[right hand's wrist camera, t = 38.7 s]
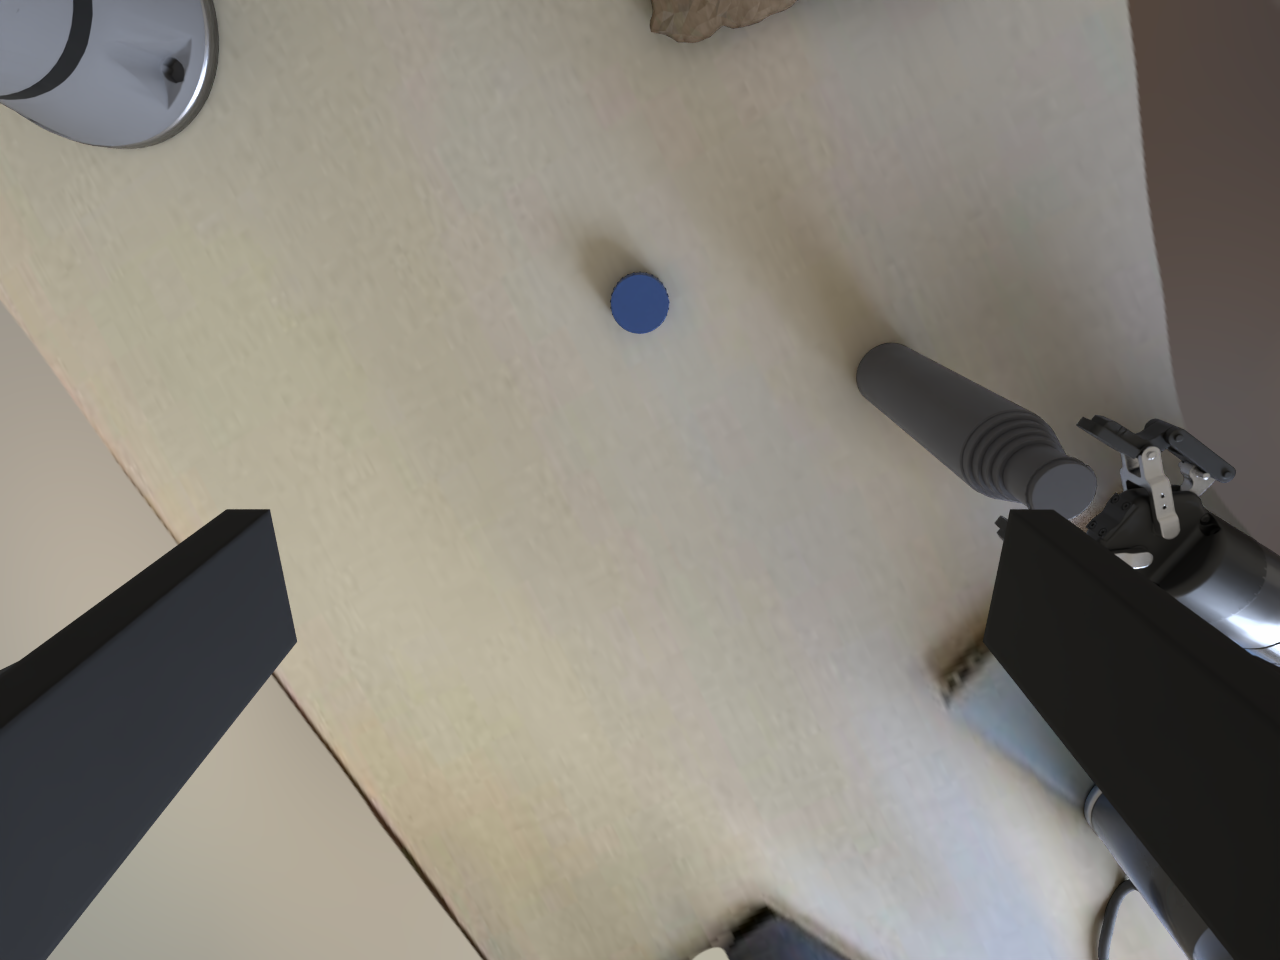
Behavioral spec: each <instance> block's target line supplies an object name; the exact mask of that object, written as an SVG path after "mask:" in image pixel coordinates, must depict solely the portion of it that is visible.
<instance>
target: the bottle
mask: <svg viewBox="0 0 1280 960" xmlns="http://www.w3.org/2000/svg"><path fill="white" fill-rule="evenodd" d="M856 379H857V385H858V388H859V390H860V392H861V394H862V395H863V396H864V397H865V398H866V399H867V400H869V401H870V402H871V403H872V404H873V405H874V406H876V407H877V408H878V409H879V410H880V411H882V412H883V413H884V414H885V415H886V416H888V417H889V418H890V419H891V420H892V421H893V422H895V423H896V424H897V425H898V426H899V427H901V428H902V429H903V430H904V431H905V432H906V433H908V434H909V435H910V436H911V437H912V438H914V439H915V440H916V441H917V442H918V443H919V444H921V445H922V446H923V447H924V448H925V449H927V450H928V451H929V452H930V453H931V454H932V455H934V456H935V457H936V458H937V459H938V460H940V461H941V462H942V463H943V464H944V465H946V466H947V467H948V468H949V469H950V470H951V471H953V472H954V473H955V474H956V475H957V476H959V477H960V478H961V479H962V480H963V481H964V482H966V483H967V484H968V485H969V486H970V487H972V488H973V489H974V490H976V491H977V492H979V493H982V494H984V495H986V496H988V497H991V498H994V499H1000V500H1005V501H1012V502H1017V503H1023V504H1024V505H1026V506H1027V507H1028V509H1053V510H1055V511H1056V512H1058V513H1059V514H1060V515H1062V516H1063V517H1064V518H1066V519H1067V520H1069V519H1072V518H1074V517H1076V516H1078V515H1079V514H1081V513H1082V512H1083V511H1084V510H1085V509H1086V508H1087V507H1088V506H1089V505H1090V503H1091V502H1092V500H1093V498H1094V496H1095V493H1096V487H1097V481H1096V476H1095V474H1094V471H1093V470H1092V469H1091V468H1090V467H1089V466H1088V465H1085V464H1084V463H1083V462H1081V461H1080V460H1078V459H1076V458H1072V457H1069V456H1067V455H1066V453H1065V452H1064V450H1063V449H1062V446H1061V444H1060V443H1059V440H1058V439H1057V437H1056V435H1055V433H1054V431H1053V430H1052V429H1051V427H1050V426H1049V425H1048V424H1047V423H1046V422H1045V421H1044V420H1043V419H1041V418H1040V417H1039V416H1037V415H1036V414H1034V413H1032V412H1030V411H1028V410H1026V409H1025V408H1023V407H1021V406H1019V405H1017V404H1015V403H1013V402H1011V401H1009V400H1007V399H1005V398H1003V397H1002V396H1000V395H998V394H996V393H994V392H992V391H990V390H988V389H986V388H984V387H982V386H981V385H979V384H977V383H975V382H973V381H971V380H969V379H967V378H965V377H963V376H961V375H960V374H958V373H956V372H954V371H952V370H950V369H948V368H946V367H944V366H942V365H940V364H938V363H937V362H935V361H933V360H931V359H929V358H927V357H925V356H923V355H921V354H919V353H917V352H916V351H914V350H912V349H910V348H908V347H906V346H904V345H901V344H897V343H886V344H882V345H879V346H877V347H875V348H873V349H872V350H870V351H869V352H868V353H867V354H866V355H865V356H864V358H863V359H862V360H861V362H860V364H859V367H858V370H857V376H856Z"/></svg>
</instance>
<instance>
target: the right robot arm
mask: <svg viewBox="0 0 1280 960" xmlns="http://www.w3.org/2000/svg"><path fill="white" fill-rule="evenodd" d="M218 52H219V36H218V25H217V19H216V13H215V8H214V4H213V0H0V103H1V104H3V105H5V106H7V107H8V108H10V109H12V110H14V111H16V112H17V113H19V114H20V115H22V116H23V117H25V118H26V119H28V120H30V121H31V122H33V123H35V124H36V125H38V126H40V127H42V128H44V129H46V130H48V131H50V132H52V133H54V134H57V135H59V136H62V137H65V138H68V139H70V140H73V141H76V142H80V143H83V144H88V145H93V146H100V147H109V148H118V149H134V148H143V147H147V146H152V145H155V144H158V143H161V142H163V141H165V140H167V139H169V138H171V137H173V136H175V135H176V134H178V133H179V132H180V131H182V130H183V129H184V128H185V127H186V126H188V125H189V124H190V123H191V121H192V120H193V119H194V118H195V117H196V116H197V114H198V113H199V111H200V110H201V109H202V107H203V105H204V103H205V102H206V100H207V98H208V96H209V93H210V91H211V88H212V85H213V82H214V78H215V75H216V69H217V63H218ZM296 642H297V639H296V634H295V629H294V624H293V619H292V614H291V610H290V605H289V600H288V595H287V590H286V585H285V581H284V576H283V571H282V566H281V561H280V556H279V552H278V547H277V542H276V537H275V532H274V527H273V523H272V518H271V513H270V509H227V510H225V511H224V512H222V513H221V514H220V515H218V516H217V517H216V518H214V519H213V520H211V521H210V522H209V523H207V524H206V525H205V526H203V527H202V528H201V529H199V530H198V531H196V532H195V533H194V534H192V535H191V536H190V537H188V538H187V539H185V540H184V541H183V542H181V543H180V544H179V545H177V546H176V547H175V548H173V549H172V550H171V551H169V552H168V553H166V554H165V555H164V556H162V557H161V558H159V559H158V560H157V561H155V562H154V563H153V564H151V565H150V566H149V567H147V568H146V569H144V570H143V571H142V572H140V573H139V574H138V575H136V576H135V577H134V578H132V579H131V580H129V581H128V582H127V583H125V584H124V585H123V586H121V587H120V588H118V589H117V590H116V591H114V592H113V593H112V594H110V595H109V596H107V597H106V598H105V599H103V600H102V601H101V602H99V603H98V604H97V605H95V606H94V607H93V608H91V609H90V610H88V611H87V612H86V613H84V614H83V615H81V616H80V617H79V618H77V619H76V620H75V621H73V622H72V623H71V624H69V625H68V626H66V627H65V628H64V629H62V630H61V631H60V632H58V633H57V634H55V635H54V636H53V637H51V638H50V639H49V640H47V641H46V642H44V643H43V644H42V645H40V646H39V647H38V648H36V649H35V650H34V651H32V652H31V653H29V654H28V655H27V656H25V657H24V658H23V659H21V660H20V661H18V662H16V663H14V664H12V665H10V666H8V667H6V668H4V669H2V670H0V960H46V959H47V958H48V956H49V955H50V954H51V953H52V951H53V950H54V949H55V948H56V946H57V945H58V944H59V942H60V941H61V940H62V939H63V937H64V936H65V935H66V934H67V932H68V931H69V930H70V929H71V927H72V926H73V925H74V923H75V922H76V921H77V920H78V918H79V917H80V916H81V915H82V913H83V912H84V911H85V910H86V908H87V907H88V906H89V904H90V903H91V902H92V901H93V899H94V898H95V897H96V896H97V894H98V893H99V892H100V891H101V889H102V888H103V887H104V885H105V884H106V883H107V882H108V880H109V879H110V878H111V877H112V875H113V874H114V873H115V872H116V870H117V869H118V868H119V867H120V865H121V864H122V863H123V861H124V860H125V859H126V858H127V856H128V855H129V854H130V853H131V851H132V850H133V849H134V848H135V846H136V845H137V844H138V842H139V841H140V840H141V839H142V837H143V836H144V835H145V834H146V832H147V831H148V830H149V828H150V827H151V826H152V825H153V824H154V822H155V821H156V820H157V818H158V817H159V816H160V815H161V813H162V812H163V811H164V810H165V808H166V807H167V806H168V805H169V803H170V802H171V801H172V799H173V798H174V797H175V796H176V794H177V793H178V792H179V791H180V789H181V788H182V787H183V786H184V784H185V783H186V782H187V780H188V779H189V778H190V777H191V775H192V774H193V773H194V772H195V770H196V769H197V768H198V767H199V765H200V764H201V763H202V761H203V760H204V759H205V758H206V756H207V755H208V754H209V753H210V751H211V750H212V749H213V748H214V746H215V745H216V744H217V742H218V741H219V740H220V739H221V737H222V736H223V735H224V734H225V732H226V731H227V730H228V728H229V727H230V726H231V725H232V723H233V722H234V721H235V720H236V718H237V717H238V716H239V715H240V713H241V712H242V711H243V709H244V708H245V707H246V706H247V704H248V703H249V702H250V701H251V699H252V698H253V697H254V696H255V694H256V693H257V692H258V691H259V689H260V688H261V687H262V685H263V684H264V683H265V682H266V680H267V679H268V678H269V677H270V675H271V674H272V673H273V672H274V670H275V669H276V668H277V666H278V665H279V664H280V663H281V661H282V660H283V659H284V658H285V656H286V655H287V654H288V653H289V651H290V650H291V649H292V647H293V646H294V645H295V644H296ZM983 642H984V644H985V645H986V646H987V647H988V649H989V650H990V651H991V653H992V654H993V655H994V656H995V658H996V659H997V660H998V661H999V663H1000V664H1001V665H1002V666H1003V668H1004V669H1005V670H1006V672H1007V673H1008V674H1009V675H1010V677H1011V678H1012V679H1013V680H1014V682H1015V683H1016V684H1017V685H1018V687H1019V688H1020V689H1021V691H1022V692H1023V693H1024V694H1025V696H1026V697H1027V698H1028V699H1029V701H1030V702H1031V703H1032V704H1033V706H1034V707H1035V708H1036V710H1037V711H1038V712H1039V713H1040V715H1041V716H1042V717H1043V718H1044V720H1045V721H1046V722H1047V723H1048V725H1049V726H1050V727H1051V729H1052V730H1053V731H1054V732H1055V734H1056V735H1057V736H1058V737H1059V739H1060V740H1061V741H1062V742H1063V744H1064V745H1065V746H1066V748H1067V749H1068V750H1069V751H1070V753H1071V754H1072V755H1073V756H1074V758H1075V759H1076V760H1077V761H1078V763H1079V764H1080V765H1081V767H1082V768H1083V769H1084V770H1085V772H1086V773H1087V774H1088V775H1089V777H1090V778H1091V779H1092V780H1093V782H1094V783H1095V784H1096V786H1097V787H1098V788H1099V789H1100V791H1101V792H1102V793H1103V794H1104V796H1105V797H1106V798H1107V799H1108V801H1109V802H1110V803H1111V805H1112V806H1113V807H1114V808H1115V810H1116V811H1117V812H1118V813H1119V815H1120V816H1121V817H1122V818H1123V820H1124V821H1125V822H1126V824H1127V825H1128V826H1129V827H1130V829H1131V830H1132V831H1133V832H1134V834H1135V835H1136V836H1137V837H1138V839H1139V840H1140V841H1141V843H1142V844H1143V845H1144V846H1145V848H1146V849H1147V850H1148V851H1149V853H1150V854H1151V855H1152V856H1153V858H1154V859H1155V860H1156V861H1157V863H1158V864H1159V865H1160V867H1161V868H1162V869H1163V870H1164V872H1165V873H1166V874H1167V875H1168V877H1169V878H1170V879H1171V880H1172V882H1173V883H1174V884H1175V886H1176V887H1177V888H1178V889H1179V891H1180V892H1181V893H1182V894H1183V896H1184V897H1185V898H1186V899H1187V901H1188V902H1189V903H1190V905H1191V906H1192V907H1193V908H1194V910H1195V911H1196V912H1197V913H1198V915H1199V916H1200V917H1201V918H1202V920H1203V921H1204V922H1205V924H1206V925H1207V926H1208V927H1209V929H1210V930H1211V931H1212V932H1213V934H1214V935H1215V936H1216V937H1217V939H1218V940H1219V941H1220V943H1221V944H1222V945H1223V946H1224V948H1225V949H1226V950H1227V951H1228V953H1229V954H1230V955H1231V956H1232V958H1233V959H1234V960H1280V667H1278V666H1276V665H1274V664H1272V663H1270V662H1268V661H1266V660H1264V659H1262V658H1260V657H1258V656H1256V655H1252V654H1251V653H1249V652H1248V651H1246V650H1245V649H1244V648H1242V647H1241V646H1240V645H1238V644H1237V643H1236V642H1234V641H1233V640H1231V639H1230V638H1229V637H1227V636H1226V635H1225V634H1223V633H1222V632H1220V631H1219V630H1218V629H1216V628H1215V627H1214V626H1212V625H1211V624H1210V623H1208V622H1207V621H1205V620H1204V619H1203V618H1201V617H1200V616H1199V615H1197V614H1196V613H1194V612H1193V611H1192V610H1190V609H1189V608H1188V607H1186V606H1185V605H1183V604H1182V603H1181V602H1179V601H1178V600H1177V599H1175V598H1174V597H1173V596H1171V595H1170V594H1168V593H1167V592H1166V591H1164V590H1163V589H1162V588H1160V587H1159V586H1157V585H1156V584H1155V583H1153V582H1152V581H1151V580H1149V579H1148V578H1147V577H1145V576H1144V575H1142V574H1141V573H1140V572H1138V571H1137V570H1136V569H1134V568H1133V567H1131V566H1130V565H1129V564H1127V563H1126V562H1125V561H1123V560H1122V559H1121V558H1119V557H1118V556H1116V555H1115V554H1114V553H1112V552H1111V551H1110V550H1108V549H1107V548H1105V547H1104V546H1103V545H1101V544H1100V543H1099V542H1097V541H1096V540H1095V539H1093V538H1092V537H1090V536H1089V535H1088V534H1086V533H1085V532H1084V531H1082V530H1081V529H1079V528H1078V527H1077V526H1075V525H1074V524H1073V523H1071V522H1070V521H1069V520H1067V519H1066V518H1064V517H1063V516H1062V515H1060V514H1059V513H1058V512H1056V511H1055V510H1053V509H1010V513H1009V518H1008V523H1007V527H1006V532H1005V537H1004V542H1003V547H1002V552H1001V556H1000V561H999V566H998V571H997V576H996V581H995V585H994V590H993V595H992V600H991V605H990V610H989V614H988V619H987V624H986V629H985V634H984V639H983Z"/></svg>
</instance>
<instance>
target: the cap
mask: <svg viewBox="0 0 1280 960" xmlns="http://www.w3.org/2000/svg"><path fill="white" fill-rule="evenodd" d="M613 290H614V291H613V293H612V294H611V296H612V298H611V300H610V302H611V310H612V315H613V316H614V318H615V321H616V322H617V323H618V324H619V325H620V326H621V327H622V328H624V329H625V330H627V331H629V332H632V333H638V334H642V333H648V332H651V331H653V330H655V329H656V328H657V327H658V326H660V325H661V323H662V322H663V321H664V319H665V317H666V316H667V312H668V310H669V307H668V306H669V300H668V297H669V296H668V294H667V293H666V288H664V286H663V283H662V282H660V281H659V280H658V278H656V277H654V276H653V275H650V274H647V272H646V273H641V272H639V273H635V272H633V273H632V274H627V276H625V277H624V278H623V277H622V279H621V280H620V281H619V282H617V285H616V287H614V289H613Z"/></svg>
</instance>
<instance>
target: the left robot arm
mask: <svg viewBox="0 0 1280 960" xmlns="http://www.w3.org/2000/svg"><path fill="white" fill-rule="evenodd" d="M1076 426H1078V427H1079V428H1081V429H1083V430H1084V431H1086V432H1087V433H1089V434H1091V435H1092V436H1094V437H1095V438H1097V439H1099V440H1100V441H1102V442H1103V443H1105V444H1107V445H1108V446H1110V447H1111V448H1113V449H1115V450H1117V451H1119V452H1120V454H1121V459H1122V464H1123V468H1121V469H1120V475H1121V480H1122V485H1123V491H1124V492H1122V493H1120V494H1117V493H1115V494H1114V495H1113V496H1112V497H1111V499H1110V500H1109V501H1108V502H1107V504H1106V506H1105V508H1104V510H1103V511H1102V512H1101V513H1100V514H1098V515H1097V516H1096V517H1094V518H1093V519H1092V520H1091V521H1090V522H1089V524H1088V525H1087V526H1086V528H1088V531H1087V533H1086V534H1088V535H1089V536H1090V537H1092V538H1093V539H1095V540H1096V541H1097V542H1099V543H1100V544H1101V545H1103V546H1104V547H1105V548H1107V549H1108V550H1110V551H1111V552H1112V553H1114V554H1115V555H1116V556H1118V557H1119V558H1121V559H1122V560H1123V561H1125V562H1126V563H1127V564H1129V565H1130V566H1131V567H1133V568H1134V569H1136V570H1137V571H1138V572H1140V573H1141V574H1142V575H1144V576H1145V577H1147V578H1148V579H1149V580H1151V581H1152V582H1153V583H1155V584H1156V585H1157V586H1159V587H1160V588H1162V589H1163V590H1164V591H1166V592H1167V593H1168V594H1170V595H1171V596H1173V597H1174V598H1175V599H1177V600H1178V601H1179V602H1181V603H1182V604H1183V605H1185V606H1186V607H1188V608H1189V609H1190V610H1192V611H1193V612H1194V613H1196V614H1197V615H1199V616H1200V617H1201V618H1203V619H1204V620H1205V621H1207V622H1208V623H1210V624H1211V625H1212V626H1214V627H1215V628H1216V629H1218V630H1219V631H1220V632H1222V633H1223V634H1225V635H1226V636H1227V637H1229V638H1230V639H1231V640H1233V641H1234V642H1236V643H1237V644H1238V645H1240V646H1241V647H1242V648H1244V649H1245V650H1246V651H1248V652H1249V653H1251V654H1252V655H1256V656H1258V657H1260V658H1262V659H1264V660H1266V661H1268V662H1270V663H1272V664H1274V665H1276V666H1278V667H1280V556H1279V555H1277V554H1276V553H1274V552H1273V551H1271V550H1270V549H1268V548H1267V547H1265V546H1263V545H1262V544H1260V543H1259V542H1257V541H1256V540H1255V539H1253V538H1252V537H1250V536H1247V535H1246V534H1244V533H1243V532H1241V531H1239V530H1238V529H1236V528H1235V527H1233V526H1232V525H1230V524H1228V523H1227V522H1225V521H1224V520H1222V519H1220V518H1219V517H1217V516H1216V515H1214V514H1213V513H1211V512H1209V511H1208V510H1206V509H1205V508H1204V507H1203V505H1202V503H1201V500H1200V498H1199V496H1200V495H1201V494H1202V493H1203V492H1205V491H1206V490H1207V489H1208V488H1209V487H1210V486H1211V485H1212V484H1213V483H1214V482H1215V481H1216V480H1217V481H1219V482H1222V483H1226V482H1229V481H1230V480H1232V479H1233V478H1234V476H1235V474H1236V470H1235V468H1234V467H1232V466H1231V465H1230V464H1228V463H1227V462H1226V461H1224V460H1223V459H1222V458H1221V457H1219V456H1218V455H1217V454H1215V453H1214V452H1213V451H1211V450H1210V449H1209V448H1207V447H1206V446H1205V445H1204V444H1202V443H1201V442H1200V441H1198V440H1197V439H1196V438H1195V437H1193V436H1192V435H1191V434H1189V433H1188V432H1187V431H1185V430H1184V429H1181V428H1179V427H1176V426H1174V425H1172V424H1169V423H1167V422H1164V421H1162V420H1159V419H1152V420H1150V421H1148V422H1147V424H1146V425H1145V429H1144V430H1143V431H1141V432H1139V433H1136V434H1134V433H1132V432H1131V431H1129V430H1128V429H1126V428H1125V427H1123V426H1121V425H1120V424H1118V423H1117V422H1115V421H1113V420H1110V419H1108V418H1106V417H1104V416H1099V415H1095V416H1094V417H1093V418H1092V420H1089V419H1087V418H1085V417H1082V419H1081V420H1080V421H1079V422H1078V423H1077V425H1076ZM1165 449H1167V450H1169V451H1170V452H1171V453H1173V454H1174V455H1175V456H1177V457H1178V458H1179V459H1181V460H1182V461H1181V462H1180V463H1179V464H1178V466H1179V467H1180V471H1181V473H1182V475H1183V476H1184V481H1183V483H1182V485H1181V486H1179V485H1171V484H1170V480H1169V479H1168V477H1167V476H1166V475H1165V473H1164V470H1163V464H1162V458H1161V452H1162V451H1163V450H1165ZM1007 523H1008V519H1006V518H1005V517H1003V516H1000V517H999V518H998V519H997V521H996V522H995V524H996V525H997V526H998V527H999V528H1000V529H999V531H998V532H997V534H998V535H999V537H1000V538H1001V539H1002V540H1003V541H1004V537H1005V532H1006V527H1007ZM1084 814H1085V818H1086V821H1087V823H1088V824H1089V825H1090V827H1091V828H1092V830H1093V831H1094V832H1095V834H1096V835H1097V836H1098V837H1100V839H1101V840H1102V842H1103V843H1104V844H1105V846H1106V847H1107V848H1108V850H1109V851H1110V852H1111V854H1112V855H1113V857H1114V858H1115V860H1116V861H1117V862H1118V864H1119V865H1120V866H1121V868H1122V869H1123V871H1124V872H1125V873H1126V875H1127V876H1128V877H1129V880H1127V881H1124V882H1123V883H1121V884H1120V885H1119V886H1118V887H1117V889H1116V890H1115V892H1114V893H1113V895H1112V897H1111V899H1110V901H1109V903H1108V905H1107V908H1106V912H1105V916H1104V921H1103V926H1102V930H1101V935H1100V940H1099V948H1098V958H1099V960H1109V949H1110V943H1111V939H1112V934H1113V930H1114V925H1115V920H1116V916H1117V912H1118V909H1119V907H1120V904H1121V902H1122V900H1123V899H1124V897H1125V896H1126V895H1127V894H1128V893H1129V892H1131V891H1133V890H1137V891H1139V893H1140V894H1141V895H1142V897H1143V898H1144V899H1145V901H1146V902H1147V904H1148V905H1149V906H1150V908H1151V909H1152V910H1153V912H1154V913H1155V914H1156V916H1157V917H1158V919H1159V920H1160V921H1161V923H1162V924H1163V925H1164V927H1165V928H1166V930H1167V931H1168V932H1169V934H1170V935H1171V936H1172V938H1173V939H1174V941H1175V942H1176V943H1177V945H1178V946H1179V947H1180V949H1181V950H1182V952H1183V953H1184V954H1185V956H1186V957H1187V958H1188V960H1234V959H1233V958H1232V956H1231V955H1230V954H1229V953H1228V951H1227V950H1226V949H1225V948H1224V946H1223V945H1222V944H1221V943H1220V941H1219V940H1218V939H1217V937H1216V936H1215V935H1214V934H1213V932H1212V931H1211V930H1210V929H1209V927H1208V926H1207V925H1206V924H1205V922H1204V921H1203V920H1202V918H1201V917H1200V916H1199V915H1198V913H1197V912H1196V911H1195V910H1194V908H1193V907H1192V906H1191V905H1190V903H1189V902H1188V901H1187V899H1186V898H1185V897H1184V896H1183V894H1182V893H1181V892H1180V891H1179V889H1178V888H1177V887H1176V886H1175V884H1174V883H1173V882H1172V880H1171V879H1170V878H1169V877H1168V875H1167V874H1166V873H1165V872H1164V870H1163V869H1162V868H1161V867H1160V865H1159V864H1158V863H1157V861H1156V860H1155V859H1154V858H1153V856H1152V855H1151V854H1150V853H1149V851H1148V850H1147V849H1146V848H1145V846H1144V845H1143V844H1142V843H1141V841H1140V840H1139V839H1138V837H1137V836H1136V835H1135V834H1134V832H1133V831H1132V830H1131V829H1130V827H1129V826H1128V825H1127V824H1126V822H1125V821H1124V820H1123V818H1122V817H1121V816H1120V815H1119V813H1118V812H1117V811H1116V810H1115V808H1114V807H1113V806H1112V805H1111V803H1110V802H1109V801H1108V799H1107V798H1106V797H1105V796H1104V794H1103V793H1102V792H1101V791H1100V789H1099V788H1098V787H1097V786H1096V785H1095V787H1094V788H1093V789H1092V790H1091V792H1090V793H1089V795H1088V797H1087V799H1086V802H1085V807H1084Z"/></svg>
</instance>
